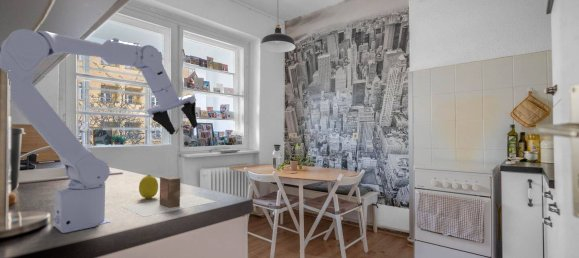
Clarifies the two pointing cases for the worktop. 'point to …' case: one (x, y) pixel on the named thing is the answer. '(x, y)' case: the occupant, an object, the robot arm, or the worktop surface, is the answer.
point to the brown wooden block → (170, 191)
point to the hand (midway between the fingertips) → (184, 129)
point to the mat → (156, 208)
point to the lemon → (148, 187)
